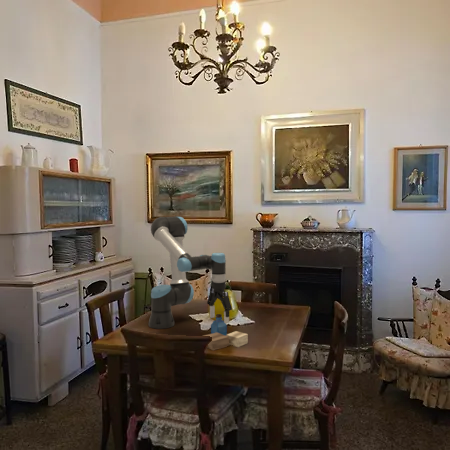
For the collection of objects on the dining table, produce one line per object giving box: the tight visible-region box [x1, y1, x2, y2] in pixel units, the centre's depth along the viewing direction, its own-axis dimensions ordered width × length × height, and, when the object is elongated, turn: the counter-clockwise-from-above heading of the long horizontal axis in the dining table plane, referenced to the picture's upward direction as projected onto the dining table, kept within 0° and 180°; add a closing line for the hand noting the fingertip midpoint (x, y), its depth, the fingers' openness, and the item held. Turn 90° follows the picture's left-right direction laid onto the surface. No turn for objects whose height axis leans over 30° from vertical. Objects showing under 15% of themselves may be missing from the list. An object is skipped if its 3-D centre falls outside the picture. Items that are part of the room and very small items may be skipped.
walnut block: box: [203, 332, 230, 351], centre depth 221 cm, size 10×10×5 cm
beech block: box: [226, 330, 249, 348], centre depth 224 cm, size 8×8×5 cm
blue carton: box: [210, 313, 228, 336], centre depth 235 cm, size 6×6×12 cm
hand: (219, 320), depth 235 cm, fingers open, 13 cm apart
